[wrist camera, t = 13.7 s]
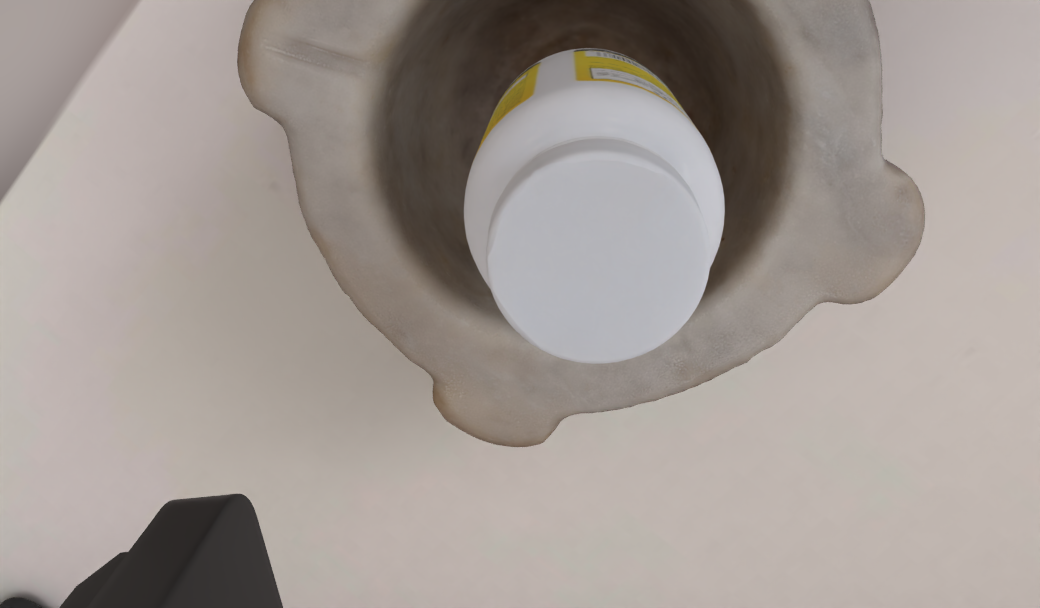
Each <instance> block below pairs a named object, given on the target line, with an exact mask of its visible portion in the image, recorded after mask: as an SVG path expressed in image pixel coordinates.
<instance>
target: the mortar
mask: <svg viewBox="0 0 1040 608" xmlns="http://www.w3.org/2000/svg"><path fill="white" fill-rule="evenodd" d="M581 48H594V49H604V50H609V51H613V52H617V53H620V54H623V55H625V56H628V57H630V58H632V59H634V60H636V61H638V62H639V63H641V64H642V65H644V66H645V67H647V68H648V69H650V70H651V71H652V72H653V73H654V74H656V75H657V76H658V77H659V78H660V79H661V80H662V81H663V82H664V83H665V84H666V85H667V87H668V88H669V89H670V91H671V92H672V94H673V95H674V97H675V98H676V100H677V101H678V102H679V104H680V105H681V106H682V108H683V110H684V111H685V112H686V114H687V115H688V117H689V118H690V119H691V121H692V123H693V124H694V125H695V127H696V128H697V130H698V131H699V132H700V134H701V135H702V137H703V138H704V140H705V142H706V144H707V145H708V147H709V149H710V151H711V153H712V156H713V158H714V161H715V163H716V166H717V169H718V172H719V175H720V178H721V182H722V186H723V193H724V205H725V215H724V227H723V232H722V237H721V241H720V245H719V248H718V251H717V253H716V256H715V258H714V261H713V263H712V265H711V267H710V271H709V276H708V281H707V284H706V287H705V291H704V293H703V295H702V298H701V300H700V302H699V304H698V306H697V308H696V309H695V311H694V312H693V314H692V315H691V317H690V318H689V320H688V321H687V322H686V323H685V324H684V325H683V326H682V328H681V329H680V330H679V331H678V332H677V333H676V334H675V335H673V336H672V337H671V338H670V339H669V340H667V341H666V342H665V343H663V344H662V345H660V346H659V347H657V348H655V349H654V350H651V351H649V352H647V353H645V354H643V355H641V356H638V357H635V358H632V359H628V360H624V361H620V362H614V363H605V364H590V363H580V362H574V361H570V360H565V359H561V358H558V357H556V356H554V355H551V354H549V353H547V352H545V351H542V350H540V349H539V348H537V347H536V346H534V345H532V344H531V343H529V342H528V341H527V340H526V339H524V338H523V337H522V336H521V335H520V334H519V333H518V332H516V330H515V329H514V328H513V327H512V326H511V325H510V324H509V322H508V321H507V320H506V319H505V317H504V316H503V314H502V312H501V311H500V309H499V308H498V306H497V304H496V302H495V299H494V297H493V294H492V292H491V289H490V288H489V286H488V285H487V283H486V282H485V280H484V279H483V277H482V275H481V273H480V272H479V270H478V267H477V265H476V263H475V261H474V259H473V256H472V254H471V251H470V248H469V245H468V241H467V238H466V231H465V224H464V200H465V191H466V185H467V180H468V176H469V173H470V169H471V166H472V163H473V160H474V158H475V156H476V153H477V151H478V148H479V146H480V144H481V141H482V139H483V136H484V134H485V132H486V129H487V127H488V124H489V122H490V119H491V117H492V115H493V112H494V110H495V108H496V106H497V104H498V102H499V100H500V98H501V97H502V95H503V94H504V93H505V91H506V90H507V89H508V87H509V86H510V85H511V84H512V82H513V81H514V80H515V79H516V78H517V77H518V76H519V75H520V74H521V73H523V72H524V71H525V70H526V69H527V68H529V67H530V66H532V65H533V64H535V63H537V62H538V61H540V60H542V59H544V58H546V57H548V56H551V55H553V54H556V53H559V52H562V51H567V50H572V49H581ZM237 64H238V73H239V78H240V82H241V85H242V88H243V89H244V91H245V93H246V95H247V97H248V98H249V100H250V102H251V104H252V105H253V107H254V108H256V109H258V110H260V111H261V112H263V113H265V114H267V115H268V116H270V117H272V118H273V119H274V120H276V121H277V122H278V123H279V124H280V125H281V126H282V127H283V128H284V130H285V132H286V135H287V137H288V143H289V149H290V155H291V160H292V166H293V173H294V177H295V181H296V187H297V194H298V200H299V205H300V208H301V211H302V214H303V217H304V219H305V222H306V225H307V227H308V230H309V232H310V235H311V237H312V239H313V240H314V242H315V243H316V245H317V246H318V248H319V250H320V252H321V254H322V255H323V257H324V258H325V260H326V262H327V264H328V266H329V268H330V270H331V272H332V274H333V276H334V277H335V279H336V281H337V282H338V284H339V285H340V287H341V289H342V290H343V291H344V293H345V294H347V295H348V296H349V297H350V299H351V300H352V301H353V303H354V304H355V306H356V307H357V308H358V310H359V311H360V312H361V313H362V315H363V316H364V317H365V318H366V319H367V320H368V321H369V322H370V323H371V324H372V325H374V326H375V327H376V328H377V329H378V330H379V331H380V332H381V333H382V334H384V336H385V337H386V338H387V339H388V340H389V341H391V342H392V343H393V345H394V346H395V347H397V348H398V349H399V350H400V351H401V352H402V353H403V354H404V355H405V356H406V357H407V358H408V359H409V360H410V361H412V362H413V363H415V364H416V365H418V366H420V367H421V368H423V369H424V370H425V371H426V372H428V373H429V374H430V376H431V377H432V379H433V382H434V383H433V401H434V404H435V405H436V407H437V408H438V410H439V411H440V413H441V414H442V416H443V417H444V419H445V420H447V421H448V422H449V423H451V424H452V425H454V426H455V427H457V428H459V429H460V430H462V431H464V432H466V433H467V434H469V435H471V436H473V437H476V438H478V439H480V440H483V441H486V442H489V443H493V444H497V445H503V446H510V447H528V446H533V445H537V444H541V443H543V442H544V441H545V440H546V439H547V438H548V437H549V436H550V435H551V433H552V432H553V431H554V430H555V429H556V427H557V426H558V424H559V423H560V421H562V420H563V419H564V418H566V417H568V416H570V415H574V414H579V413H596V412H604V411H609V410H617V409H622V408H627V407H632V406H634V405H637V404H641V403H645V402H651V401H656V400H658V399H661V398H663V397H666V396H669V395H673V394H676V393H679V392H683V391H685V390H687V389H689V388H692V387H695V386H698V385H700V384H701V383H704V382H707V381H709V380H712V379H713V378H715V377H717V376H719V375H721V374H723V373H725V372H727V371H729V370H731V369H732V368H734V367H737V366H739V365H742V364H744V363H747V362H748V361H749V360H750V359H751V358H752V357H753V356H755V355H757V354H758V353H759V352H761V351H763V350H765V349H767V348H770V347H772V346H773V345H774V344H776V343H777V342H779V341H780V340H781V339H782V338H783V337H784V336H785V335H786V334H787V333H788V332H789V331H790V329H791V328H792V327H793V326H794V325H795V324H796V323H798V322H799V321H800V320H801V319H802V318H803V317H804V315H805V314H806V313H808V312H809V311H810V310H811V309H812V308H813V307H815V306H816V305H817V304H820V303H823V302H834V303H840V304H857V303H862V302H864V301H867V300H871V299H872V298H874V297H876V296H877V295H879V294H880V293H881V292H882V291H883V290H885V289H886V288H887V287H888V286H889V285H890V284H891V283H892V282H893V281H894V280H895V279H896V278H897V277H898V276H899V275H900V273H901V272H902V271H903V270H904V269H905V267H906V266H907V265H908V263H909V262H910V261H911V259H912V258H913V257H914V255H915V253H916V251H917V249H918V247H919V245H920V242H921V239H922V235H923V231H924V224H925V210H924V203H923V199H922V196H921V193H920V191H919V189H918V187H917V185H916V184H915V182H914V181H913V180H912V179H911V178H910V177H909V176H908V175H907V174H906V173H905V172H904V171H902V170H901V169H900V168H898V167H897V166H895V165H894V164H892V163H890V162H888V161H887V160H885V159H884V158H883V155H882V134H881V122H882V113H883V111H882V63H881V52H880V42H879V35H878V30H877V27H876V23H875V18H874V15H873V11H872V8H871V5H870V2H869V0H254V1H253V2H252V4H251V5H250V7H249V9H248V11H247V13H246V16H245V20H244V23H243V27H242V30H241V35H240V39H239V45H238V60H237Z"/></svg>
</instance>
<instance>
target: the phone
mask: <svg viewBox="0 0 1040 608" xmlns="http://www.w3.org/2000/svg"><path fill="white" fill-rule="evenodd" d="M0 608H41V607H39V606H38V605H36V604H35V603H33V602H31V601H29V600H27V599H23V598H11V599H8V600H6V601H4V602H3V603H2V604H0Z"/></svg>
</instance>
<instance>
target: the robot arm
mask: <svg viewBox="0 0 1040 608" xmlns="http://www.w3.org/2000/svg"><path fill="white" fill-rule="evenodd" d="M60 608H283V606H282V602H281V599H280V595H279V592H278V588H277V585H276V581H275V578H274V574H273V571H272V567H271V564H270V560H269V557H268V554H267V550H266V547H265V543H264V540H263V536H262V533H261V529H260V526H259V522H258V519H257V515H256V513H255V510H254V507H253V505H252V503H251V502H250V500H249V499H248V498H247V497H246V496H244V495H242V494H231V495H220V496H210V497H199V498H189V499H178V500H172V501H169V502H167V503H166V504H165V505H164V506H163V507H162V508H161V509H160V511H159V512H158V513H157V515H156V516H155V517H154V519H153V520H152V521H151V523H150V524H149V525H148V527H147V528H146V529H145V531H144V532H143V533H142V535H141V536H140V537H139V539H138V540H137V541H136V543H135V544H134V545H133V547H132V548H131V549H130V551H129V552H123V553H120V554H118V555H117V556H116V557H114V558H113V559H112V560H110V561H109V562H108V563H107V564H105V565H104V566H103V567H101V568H100V569H99V570H97V571H96V572H95V573H93V574H92V575H91V576H90V577H88V578H87V579H86V580H84V581H83V582H82V583H80V584H79V585H78V586H76V588H75V589H74V590H73V591H72V593H71V594H70V595H69V596H68V598H67V599H66V600H65V601H64V603H63V604H62V605H61V606H60Z"/></svg>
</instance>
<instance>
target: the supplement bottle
mask: <svg viewBox="0 0 1040 608" xmlns="http://www.w3.org/2000/svg"><path fill="white" fill-rule="evenodd" d="M724 215H725V205H724V193H723V186H722V182H721V178H720V175H719V172H718V169H717V166H716V163H715V161H714V158H713V156H712V153H711V151H710V149H709V147H708V145H707V144H706V142H705V140H704V138H703V137H702V135H701V134H700V132H699V131H698V130H697V128H696V127H695V125H694V124H693V123H692V121H691V119H690V118H689V117H688V115H687V114H686V112H685V111H684V110H683V108H682V106H681V105H680V104H679V102H678V101H677V100H676V98H675V97H674V95H673V94H672V92H671V91H670V89H669V88H668V87H667V85H666V84H665V83H664V82H663V81H662V80H661V79H660V78H659V77H658V76H657V75H656V74H654V73H653V72H652V71H651V70H650V69H648V68H647V67H645V66H644V65H642V64H641V63H639V62H638V61H636V60H634V59H632V58H630V57H628V56H625V55H623V54H620V53H617V52H613V51H609V50H604V49H594V48H581V49H572V50H567V51H562V52H559V53H556V54H553V55H551V56H548V57H546V58H544V59H542V60H540V61H538V62H537V63H535V64H533V65H532V66H530V67H529V68H527V69H526V70H525V71H524V72H523V73H521V74H520V75H519V76H518V77H517V78H516V79H515V80H514V81H513V82H512V84H511V85H510V86H509V87H508V89H507V90H506V91H505V93H504V94H503V95H502V97H501V98H500V100H499V102H498V104H497V106H496V108H495V110H494V112H493V115H492V117H491V119H490V122H489V124H488V127H487V129H486V132H485V134H484V136H483V139H482V141H481V144H480V146H479V148H478V151H477V153H476V156H475V158H474V160H473V163H472V166H471V169H470V173H469V176H468V180H467V185H466V191H465V200H464V224H465V231H466V238H467V241H468V245H469V248H470V251H471V254H472V256H473V259H474V261H475V263H476V265H477V267H478V270H479V272H480V273H481V275H482V277H483V279H484V280H485V282H486V283H487V285H488V286H489V288H490V289H491V292H492V294H493V297H494V299H495V302H496V304H497V306H498V308H499V309H500V311H501V312H502V314H503V316H504V317H505V319H506V320H507V321H508V322H509V324H510V325H511V326H512V327H513V328H514V329H515V330H516V332H518V333H519V334H520V335H521V336H522V337H523V338H524V339H526V340H527V341H528V342H529V343H531V344H532V345H534V346H536V347H537V348H539V349H540V350H542V351H545V352H547V353H549V354H551V355H554V356H556V357H558V358H561V359H565V360H570V361H574V362H580V363H590V364H605V363H614V362H620V361H624V360H628V359H632V358H635V357H638V356H641V355H643V354H645V353H647V352H649V351H651V350H654V349H655V348H657V347H659V346H660V345H662V344H663V343H665V342H666V341H667V340H669V339H670V338H671V337H672V336H673V335H675V334H676V333H677V332H678V331H679V330H680V329H681V328H682V326H683V325H684V324H685V323H686V322H687V321H688V320H689V318H690V317H691V315H692V314H693V312H694V311H695V309H696V308H697V306H698V304H699V302H700V300H701V298H702V295H703V293H704V291H705V287H706V284H707V281H708V276H709V271H710V267H711V265H712V263H713V261H714V258H715V256H716V253H717V251H718V248H719V245H720V241H721V237H722V232H723V227H724Z"/></svg>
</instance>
